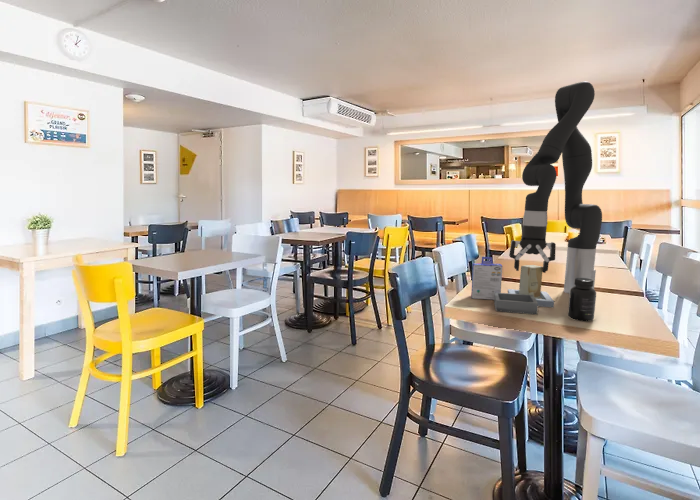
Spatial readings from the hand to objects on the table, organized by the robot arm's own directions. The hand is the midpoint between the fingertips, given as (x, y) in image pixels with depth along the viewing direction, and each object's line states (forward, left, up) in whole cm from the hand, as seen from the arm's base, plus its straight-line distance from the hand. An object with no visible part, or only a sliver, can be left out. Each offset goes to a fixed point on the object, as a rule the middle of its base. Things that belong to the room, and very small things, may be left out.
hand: (530, 271), depth 141 cm
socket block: (0, 0, -10) cm, 10 cm away
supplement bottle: (-12, +17, -11) cm, 24 cm away
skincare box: (0, 0, -11) cm, 11 cm away
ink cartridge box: (+14, +1, -11) cm, 18 cm away
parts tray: (+6, +12, -10) cm, 17 cm away
